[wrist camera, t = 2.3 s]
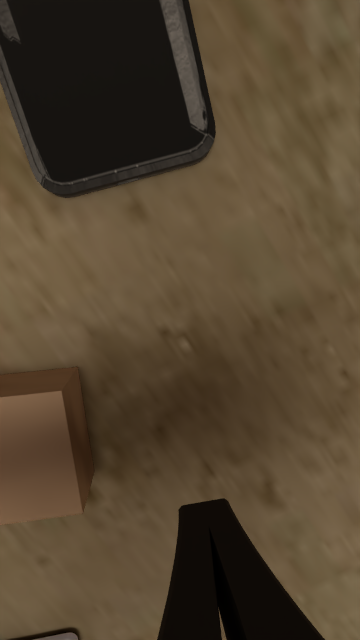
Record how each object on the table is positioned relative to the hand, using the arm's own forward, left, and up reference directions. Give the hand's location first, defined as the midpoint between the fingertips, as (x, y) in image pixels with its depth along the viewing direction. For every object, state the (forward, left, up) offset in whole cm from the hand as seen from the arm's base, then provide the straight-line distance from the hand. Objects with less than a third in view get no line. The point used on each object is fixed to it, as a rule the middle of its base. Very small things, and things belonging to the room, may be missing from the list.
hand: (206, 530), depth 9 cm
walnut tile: (0, +8, -8) cm, 11 cm away
